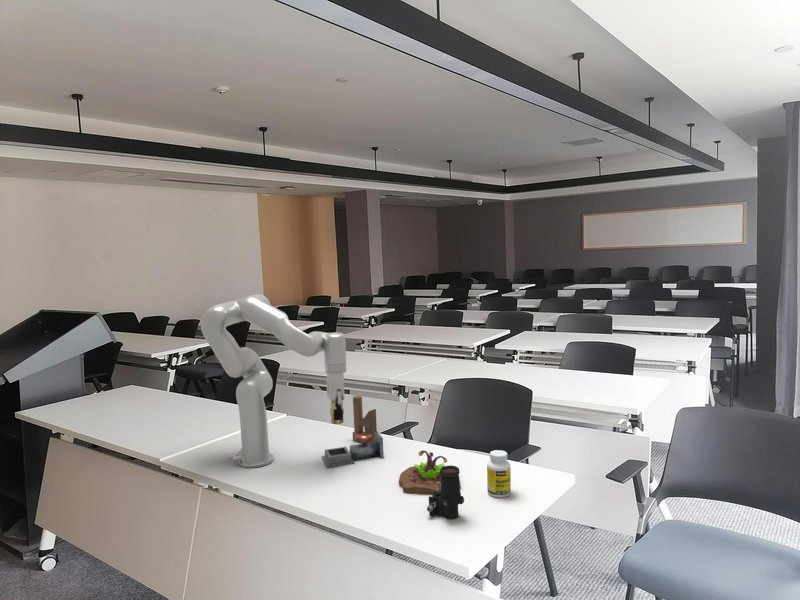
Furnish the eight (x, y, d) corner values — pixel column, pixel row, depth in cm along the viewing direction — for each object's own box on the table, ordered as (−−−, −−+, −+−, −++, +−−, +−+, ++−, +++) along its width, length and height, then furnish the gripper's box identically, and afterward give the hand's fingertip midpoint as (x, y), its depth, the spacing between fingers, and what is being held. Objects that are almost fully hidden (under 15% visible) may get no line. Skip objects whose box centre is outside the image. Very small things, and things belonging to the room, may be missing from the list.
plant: (400, 471, 197) (398, 440, 196) (457, 470, 197) (456, 438, 196) (398, 497, 178) (397, 462, 176) (461, 496, 177) (460, 460, 176)
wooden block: (371, 446, 222) (368, 401, 220) (352, 440, 229) (350, 396, 227) (377, 444, 224) (375, 399, 223) (359, 438, 232) (357, 394, 230)
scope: (436, 460, 169) (468, 465, 164) (437, 505, 170) (469, 512, 166) (424, 471, 162) (457, 476, 157) (426, 518, 163) (458, 524, 159)
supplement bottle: (495, 500, 172) (494, 458, 171) (483, 491, 179) (482, 451, 178) (515, 495, 175) (514, 454, 174) (502, 486, 182) (501, 447, 180)
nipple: (331, 424, 203) (331, 402, 202) (329, 420, 207) (328, 399, 207) (345, 423, 204) (344, 401, 203) (342, 419, 209) (342, 398, 208)
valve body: (326, 468, 202) (325, 445, 201) (321, 458, 212) (320, 436, 211) (384, 459, 208) (383, 437, 208) (377, 450, 218) (376, 429, 217)
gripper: (321, 363, 211) (322, 411, 213) (329, 373, 195) (330, 426, 196) (341, 362, 213) (342, 409, 215) (350, 371, 197) (352, 423, 199)
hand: (336, 417), depth 206 cm, fingers closed on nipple, 4 cm apart
